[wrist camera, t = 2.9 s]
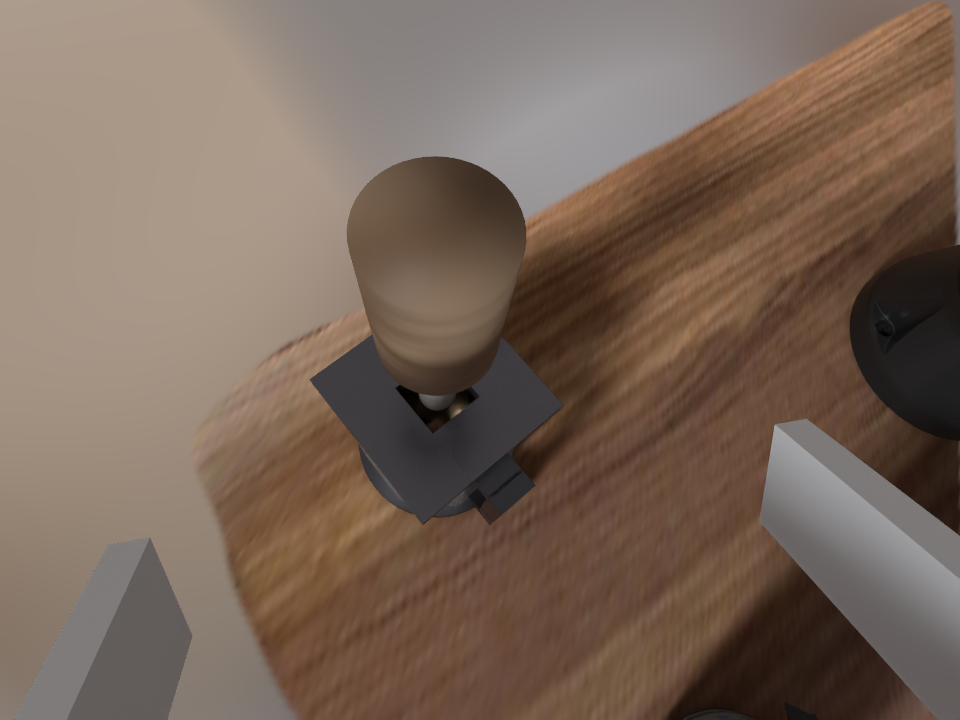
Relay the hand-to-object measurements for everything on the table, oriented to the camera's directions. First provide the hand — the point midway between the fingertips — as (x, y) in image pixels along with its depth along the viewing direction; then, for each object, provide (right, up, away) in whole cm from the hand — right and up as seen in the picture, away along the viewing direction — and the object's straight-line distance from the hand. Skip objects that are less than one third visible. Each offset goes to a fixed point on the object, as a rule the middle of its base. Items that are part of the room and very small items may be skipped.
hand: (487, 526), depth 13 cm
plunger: (-2, +2, +19) cm, 19 cm away
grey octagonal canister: (-3, -2, +30) cm, 31 cm away
